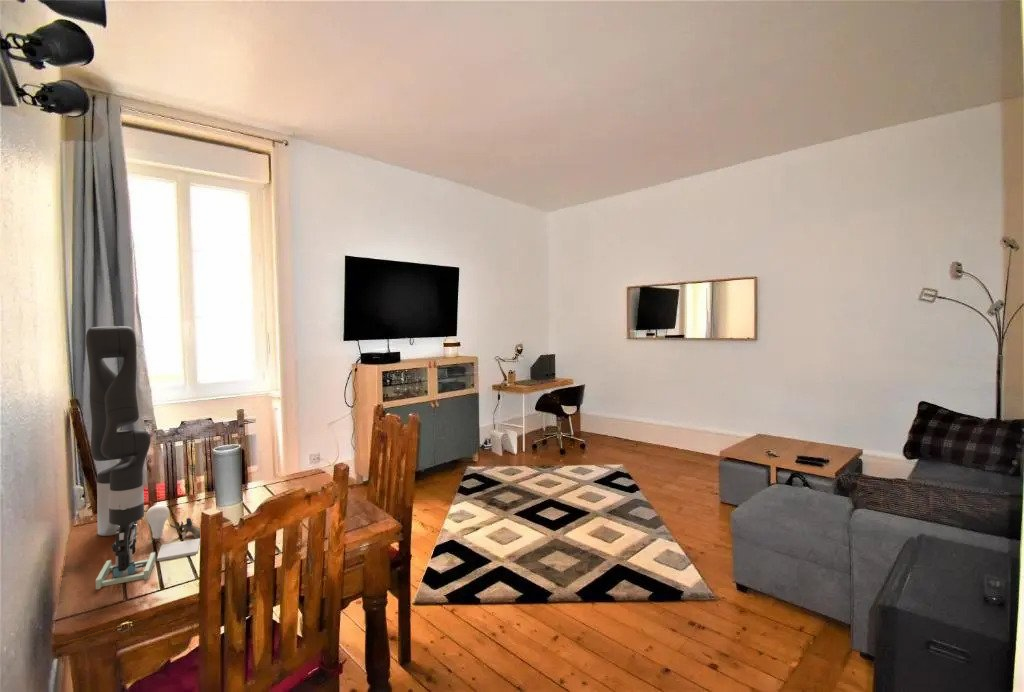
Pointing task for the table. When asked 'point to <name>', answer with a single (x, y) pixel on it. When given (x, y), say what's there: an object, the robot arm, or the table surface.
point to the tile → (178, 549)
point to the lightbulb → (157, 519)
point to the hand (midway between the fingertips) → (127, 561)
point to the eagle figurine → (187, 528)
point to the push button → (131, 569)
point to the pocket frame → (108, 568)
